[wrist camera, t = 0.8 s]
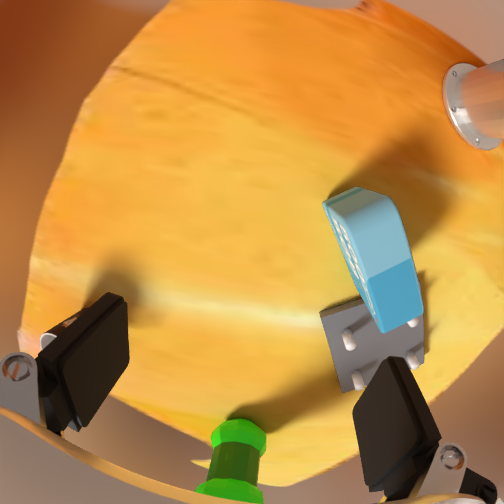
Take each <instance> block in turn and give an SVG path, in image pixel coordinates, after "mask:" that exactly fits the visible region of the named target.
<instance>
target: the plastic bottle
mask: <svg viewBox="0 0 504 504" xmlns="http://www.w3.org/2000/svg"><path fill="white" fill-rule="evenodd" d="M211 440H212V445H213V448H214V451H213V455H212V459H211V463H210V468H209V472H208V476H207V480H206V482H205V483H202V484H200V485H198V487H197V489H196V490H195V492H196V493H201V494H205V495H209V496H214V497H219V498H224V499H229V500H235V501H241V502H248V503H256V504H263V495H262V492H261V491H260V490H259V489H258V488H257V481H258V471H259V461H260V457H261V456H262V455H263V454H264V452H265V451H266V435H265V432H264V431H263V430H262V429H260V428H259V427H258V426H257V425H255V424H254V423H252V422H251V421H250V420H246V419H242V418H238V419H232V420H229V421H225V422H223V423H222V424H221V425H220V426H218V427H217V428H216V429H215V430H214V431H213V432H212V435H211Z"/></svg>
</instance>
